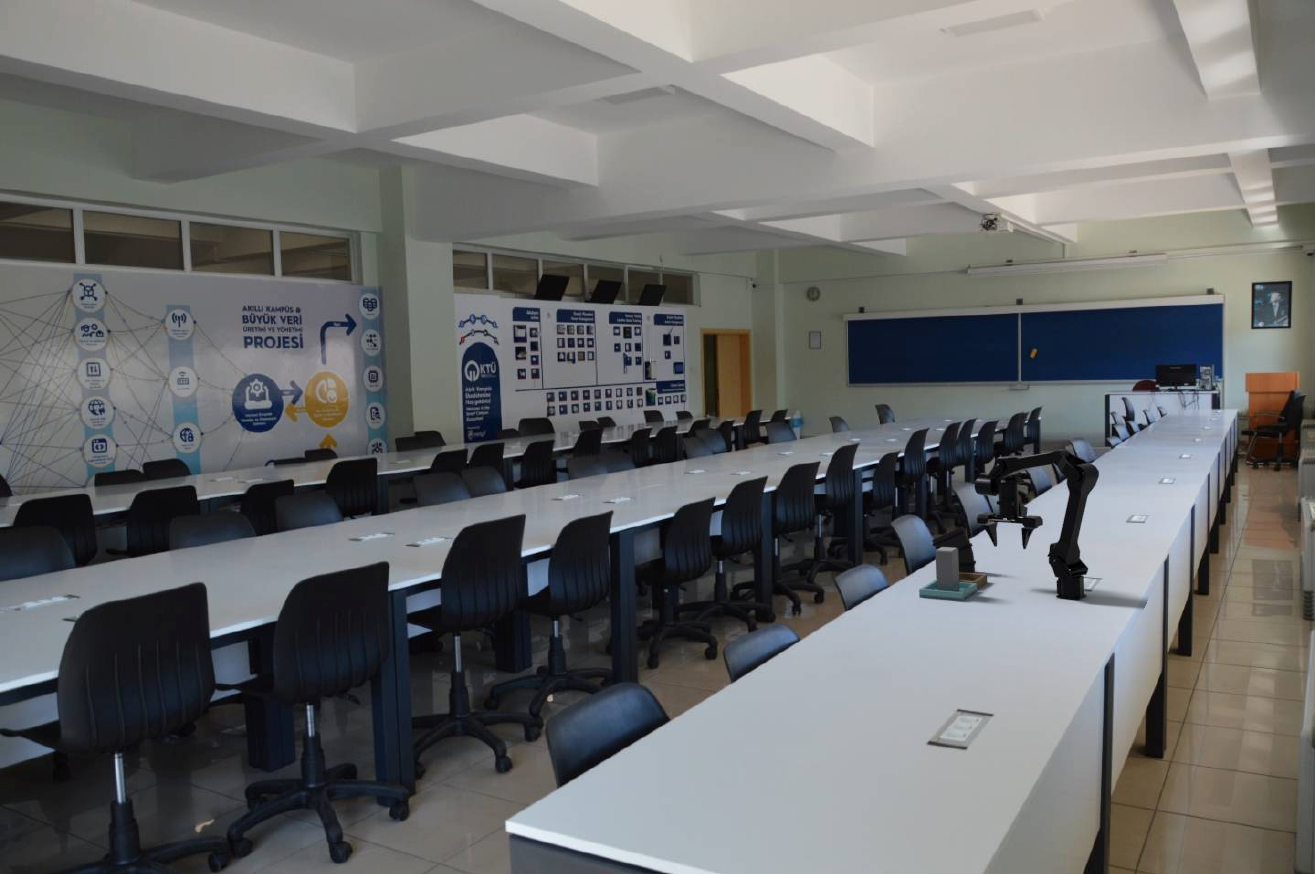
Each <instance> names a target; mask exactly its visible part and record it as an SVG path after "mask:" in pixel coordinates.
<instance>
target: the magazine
mask: <svg viewBox="0 0 1315 874" xmlns="http://www.w3.org/2000/svg"><path fill="white" fill-rule="evenodd" d="M969 538H970V537H969V536H968V534H967V529H966V528H964V526H960V527H958V528H955V529H954V530H950V531H948V532H946V533H943V534H942V535H939V536H938V537H936V538H933V539H932V540H931V542H932V544H931V545H932V547H934V548H935V549H936V550H937V549H939V548H941V547H951V548H957V549H958V563H959V572H960V573H974V574H975V572H976V564H977V560H975V555H974V550H973V543H972V542H971V541H970V539H969Z"/></svg>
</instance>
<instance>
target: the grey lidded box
mask: <svg viewBox="0 0 1315 874" xmlns="http://www.w3.org/2000/svg"><path fill="white" fill-rule="evenodd" d="M935 570H936V572H935V573H936V574H935V575H936V577H935V578H936V580H937V590H942V591H954V592H958V591H959V563H958V549H957V548H951V547H941V548H939V549H936V550H935Z"/></svg>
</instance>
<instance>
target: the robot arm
mask: <svg viewBox="0 0 1315 874" xmlns="http://www.w3.org/2000/svg"><path fill="white" fill-rule="evenodd" d="M1049 465H1055V466H1056V467H1057V469H1058V470H1059V471H1060V473H1061V474H1063V476H1065V477H1066V487H1067V490H1068V492H1069V493H1068V499H1067V503H1066V507H1065V513H1064V517H1063V521H1062V526H1061V531H1060V535H1059V539H1058V541H1057V542H1052V543H1050V545H1049V552H1048V554H1047V555H1046V556H1047V557H1048V564H1049V565H1050V567H1051V570H1052V572H1053V575H1054V577H1055V578H1057V580H1056V594H1057V595H1055V598H1058V599H1065V600H1074V601H1079V600H1081V599H1083V598H1086V597H1087V595H1088V594H1086V593H1085V577H1084V576H1086V575H1087V574H1088V572H1089V567H1088V566H1087V565H1086V564H1085V563H1084V561H1083V560H1082V559H1081V549H1080V546H1079V544H1078V543H1079V542H1078V541H1079V537H1080V532H1081V528H1082V523H1083V518H1084V514H1085V509H1086V506H1087V500H1088V496H1089V495H1090V493H1091V492H1092V491H1093V490H1094V488H1095V487H1096V484H1097V482H1098V479H1099V478H1100V477H1099V476H1100V470H1099V469H1098V468H1097V467H1096V465H1095V464H1093V463H1090V462H1087V461H1086V460H1085V459H1083V458H1081V457H1079V456H1078V455H1075V454H1073V453H1072V452H1071V451H1069V450H1067V449H1065V448H1064V449H1063V448H1062V449H1054V450H1053V451H1050V452H1049V451H1048V452H1043V453H1038V454H1033V455H1027V456H1026V455H1025V456H1023V455H1008V456H1007V455H1005V456H999V457H997V458H996V459H995V461H994V462H993V467H992V468H991V470H990V471H989V473H986V472H981V473H978V478H977V479H976V480H975V483H974V491H975V492H976V494H977V495H980V496H991V497H992V496H993V497H996V496H998V497H997V498H998V499H997V501H996V505H997V506H998V514H996V512H982V513H979V514H978V515H977V516H976V524H978V525H979V524H980V527H981V528H984V530H985V532H986V533H987V536H989V539H990V541H991V543H992V545H993V547H994V548H995V547H996V548H997V547H998V535H997V534H998V533H997V527H998V523H1004V524H1005V523H1006V524H1021V525H1022V526H1023V527H1021V529H1020V530H1021V542H1022V543H1021V545H1022V550H1026V549H1027V546H1028V544H1029V541H1030V537H1031V536H1032V534H1033V532H1034V531H1035V530H1036V529H1039V527H1041V526H1043V525H1044V521H1043V520H1044V519H1043V518H1042V516H1041V515H1032V514H1031V515H1028V508H1029V507H1027V506H1025V505H1023V504H1022V501H1021V499H1019V484H1022V483H1023V484H1024V483H1025V480H1024V479H1023V478H1022V477H1020V475H1019V473H1021V472H1025V471H1026V470H1028V469H1030V468H1037V467H1043V466H1049ZM1011 475H1013V476H1011ZM1047 557H1046V558H1047Z"/></svg>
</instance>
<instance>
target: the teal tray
mask: <svg viewBox="0 0 1315 874" xmlns="http://www.w3.org/2000/svg"><path fill="white" fill-rule="evenodd" d="M977 591H978V589H977V583H966V582H959V591H958V592H954V591H942V590H937V579H936V580H932V581H930V582H929V583H927V584H926V585H924V586H922V587H921V588H918V592H919V594H918V595H919V598H924V599H936V600H947V601H958V602H964V601H965V600H967V599H968V598H969V597H970V596H972V595H973V594H975V593H976V592H977Z"/></svg>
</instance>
